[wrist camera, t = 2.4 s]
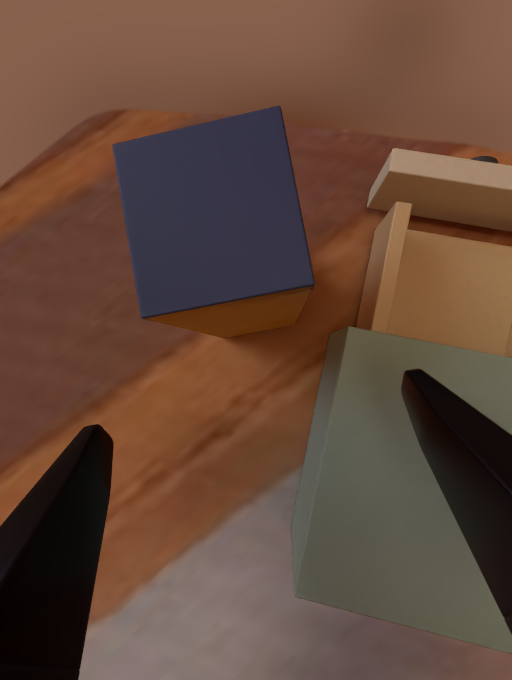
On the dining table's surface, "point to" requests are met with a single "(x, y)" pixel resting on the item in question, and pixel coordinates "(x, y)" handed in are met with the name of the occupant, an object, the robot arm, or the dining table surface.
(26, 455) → the dining table surface
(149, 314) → the carton
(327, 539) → the cabinet
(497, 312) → the drawer
